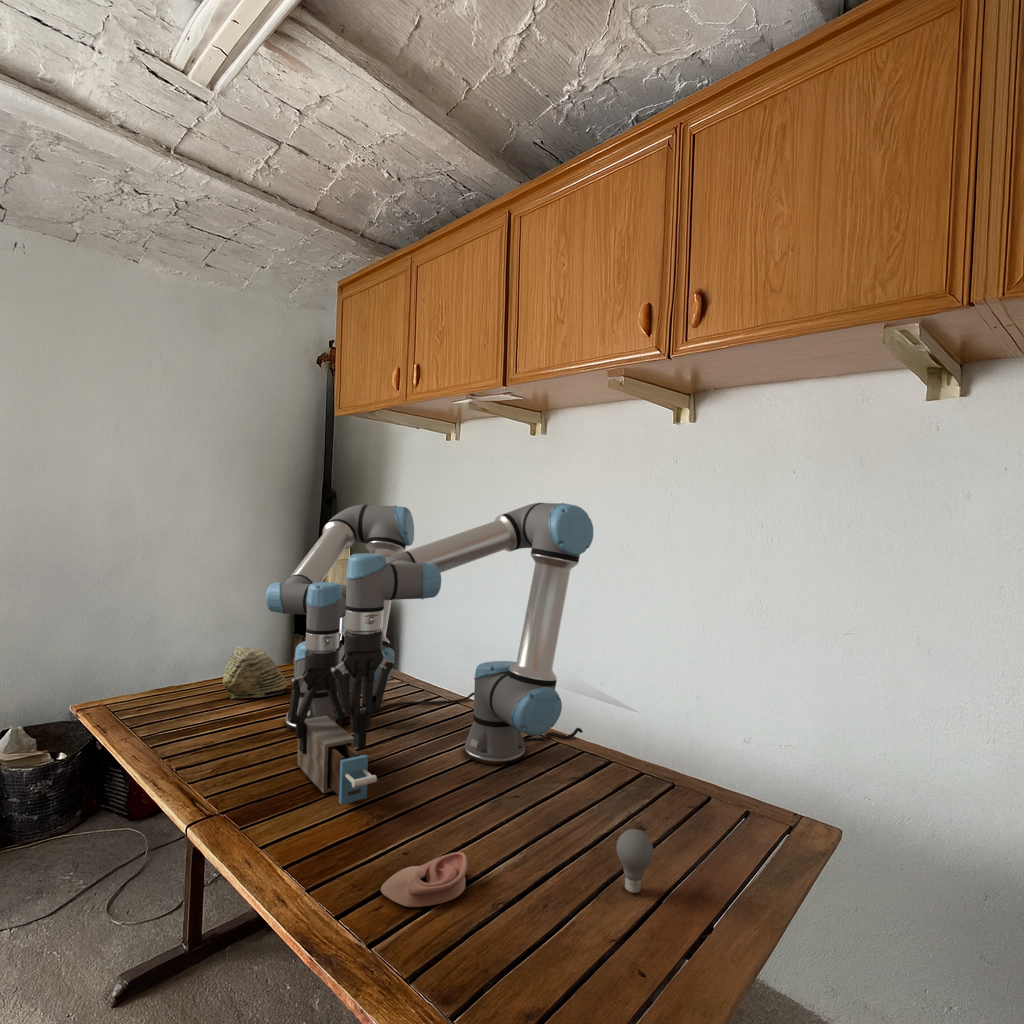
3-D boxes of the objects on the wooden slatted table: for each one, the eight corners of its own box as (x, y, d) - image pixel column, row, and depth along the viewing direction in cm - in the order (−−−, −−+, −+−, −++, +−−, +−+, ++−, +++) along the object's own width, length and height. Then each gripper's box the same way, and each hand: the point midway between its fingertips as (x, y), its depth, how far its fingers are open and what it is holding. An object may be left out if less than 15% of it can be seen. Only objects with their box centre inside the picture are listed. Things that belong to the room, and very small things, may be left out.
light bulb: (610, 879, 108) (613, 822, 108) (644, 879, 109) (647, 822, 109) (619, 902, 102) (622, 840, 102) (655, 901, 103) (658, 840, 103)
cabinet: (353, 786, 139) (355, 738, 139) (323, 793, 135) (324, 744, 135) (325, 758, 153) (326, 715, 153) (297, 764, 149) (298, 720, 149)
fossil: (218, 695, 195) (220, 647, 195) (278, 685, 208) (279, 640, 207) (228, 703, 189) (230, 653, 188) (289, 692, 201) (290, 645, 201)
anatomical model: (373, 876, 100) (400, 838, 111) (372, 901, 100) (399, 861, 111) (454, 890, 97) (473, 850, 108) (452, 915, 97) (472, 873, 108)
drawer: (377, 808, 127) (379, 765, 127) (351, 815, 124) (352, 771, 124) (337, 770, 145) (339, 732, 145) (313, 775, 141) (315, 736, 141)
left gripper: (283, 658, 138) (280, 762, 138) (368, 648, 150) (365, 745, 150) (274, 650, 144) (270, 751, 144) (356, 642, 156) (352, 735, 156)
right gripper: (339, 637, 121) (334, 759, 121) (401, 631, 129) (396, 746, 129) (325, 629, 127) (321, 746, 127) (385, 624, 135) (381, 734, 135)
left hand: (318, 748), depth 147 cm, fingers closed on cabinet, 7 cm apart
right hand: (359, 746), depth 128 cm, fingers closed
